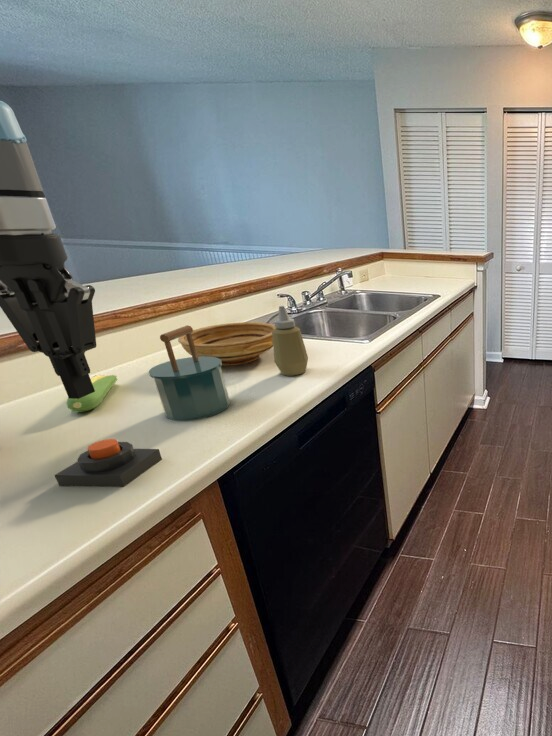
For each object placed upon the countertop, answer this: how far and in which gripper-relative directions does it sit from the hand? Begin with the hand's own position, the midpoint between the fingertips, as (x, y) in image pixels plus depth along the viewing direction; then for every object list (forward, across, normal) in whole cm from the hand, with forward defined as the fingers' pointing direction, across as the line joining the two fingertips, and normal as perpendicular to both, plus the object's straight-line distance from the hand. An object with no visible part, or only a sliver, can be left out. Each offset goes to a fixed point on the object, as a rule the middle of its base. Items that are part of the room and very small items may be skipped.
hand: (82, 394), depth 65 cm
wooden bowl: (+15, +13, -57) cm, 60 cm away
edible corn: (+15, +28, -28) cm, 42 cm away
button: (+10, 0, 0) cm, 10 cm away
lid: (+5, +2, -24) cm, 24 cm away
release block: (+14, 0, 0) cm, 14 cm away
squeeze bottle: (+14, -8, -47) cm, 50 cm away
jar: (+14, +2, -24) cm, 28 cm away
